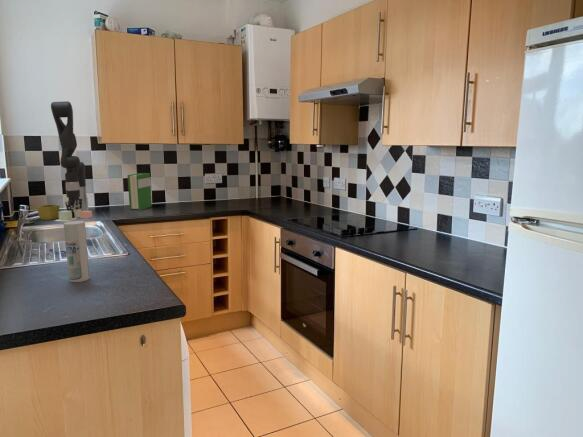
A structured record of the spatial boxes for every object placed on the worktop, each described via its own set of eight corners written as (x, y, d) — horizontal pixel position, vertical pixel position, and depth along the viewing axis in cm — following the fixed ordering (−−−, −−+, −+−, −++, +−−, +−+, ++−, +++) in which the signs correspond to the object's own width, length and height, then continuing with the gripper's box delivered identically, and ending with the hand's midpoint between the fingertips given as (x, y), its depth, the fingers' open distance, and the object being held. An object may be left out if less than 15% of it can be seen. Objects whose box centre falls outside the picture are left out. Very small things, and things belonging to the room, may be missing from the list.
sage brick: (64, 218, 264) (63, 210, 263) (72, 218, 264) (71, 210, 263) (59, 220, 259) (58, 211, 259) (67, 220, 259) (66, 211, 258)
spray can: (64, 281, 150) (59, 223, 147) (79, 275, 156) (74, 220, 153) (79, 283, 148) (73, 224, 144) (94, 277, 154) (89, 221, 150)
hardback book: (139, 210, 303) (137, 175, 299) (129, 209, 304) (127, 175, 300) (151, 206, 320) (149, 173, 316) (142, 206, 321) (140, 173, 317)
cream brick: (74, 217, 273) (73, 209, 272) (81, 217, 273) (80, 209, 272) (69, 218, 269) (68, 210, 268) (76, 218, 268) (76, 210, 267)
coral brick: (84, 218, 271) (84, 210, 270) (92, 218, 271) (91, 210, 270) (80, 219, 266) (79, 211, 266) (87, 220, 266) (87, 211, 265)
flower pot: (50, 222, 258) (49, 207, 257) (37, 221, 260) (36, 206, 259) (61, 219, 267) (59, 205, 265) (48, 219, 269) (47, 204, 267)
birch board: (63, 219, 267) (63, 217, 267) (78, 219, 266) (78, 218, 266) (52, 222, 257) (52, 220, 257) (68, 222, 256) (68, 221, 256)
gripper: (74, 187, 275) (76, 214, 278) (59, 190, 261) (62, 218, 264) (85, 188, 274) (87, 214, 277) (71, 190, 260) (74, 219, 263)
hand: (75, 216), depth 270 cm, fingers closed on cream brick, 5 cm apart
